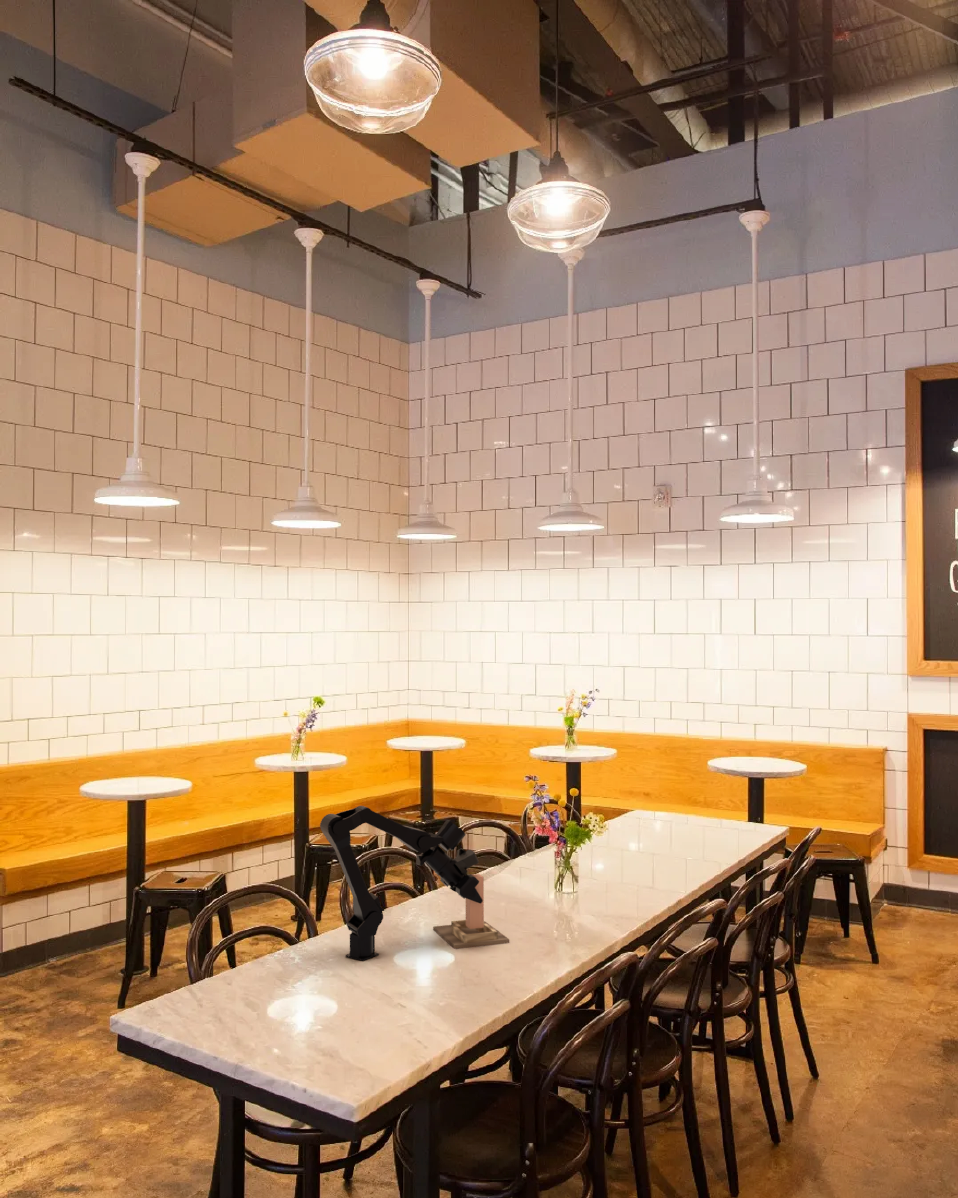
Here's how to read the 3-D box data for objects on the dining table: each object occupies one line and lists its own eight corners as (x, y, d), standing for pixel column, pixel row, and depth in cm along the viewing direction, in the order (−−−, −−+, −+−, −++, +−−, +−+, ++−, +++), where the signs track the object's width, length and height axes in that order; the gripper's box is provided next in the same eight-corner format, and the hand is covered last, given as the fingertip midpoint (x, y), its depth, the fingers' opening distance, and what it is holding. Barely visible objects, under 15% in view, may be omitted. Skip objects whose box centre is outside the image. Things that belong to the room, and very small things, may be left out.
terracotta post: (470, 929, 280) (470, 878, 280) (465, 925, 283) (465, 875, 284) (483, 927, 281) (483, 877, 282) (478, 924, 285) (478, 874, 286)
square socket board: (509, 942, 279) (509, 931, 279) (454, 949, 274) (454, 937, 274) (484, 924, 298) (484, 914, 298) (433, 930, 293) (433, 919, 293)
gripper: (471, 847, 273) (509, 885, 277) (450, 836, 291) (486, 871, 294) (444, 879, 270) (483, 917, 273) (424, 865, 288) (461, 901, 291)
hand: (479, 900), depth 283 cm, fingers closed on terracotta post, 4 cm apart
